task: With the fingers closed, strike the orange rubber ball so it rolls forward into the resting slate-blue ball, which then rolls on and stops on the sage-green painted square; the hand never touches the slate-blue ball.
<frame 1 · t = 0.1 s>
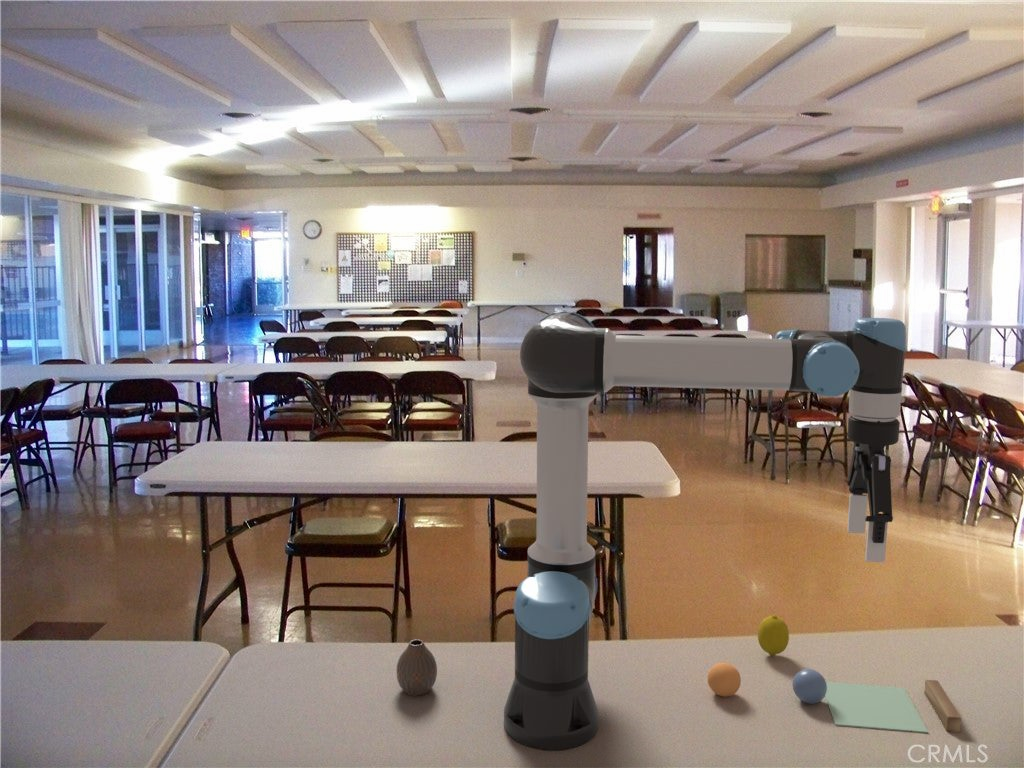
hand: (865, 546, 143), 28 cm above the table, tool pointing down, fingers open, 13 cm apart
mark: (871, 706, 148), on the table
ball a: (724, 679, 151), on the table
lemon: (772, 656, 166), on the table
vase: (417, 691, 153), on the table
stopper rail: (941, 711, 146), on the table
ball b: (809, 686, 149), on the table
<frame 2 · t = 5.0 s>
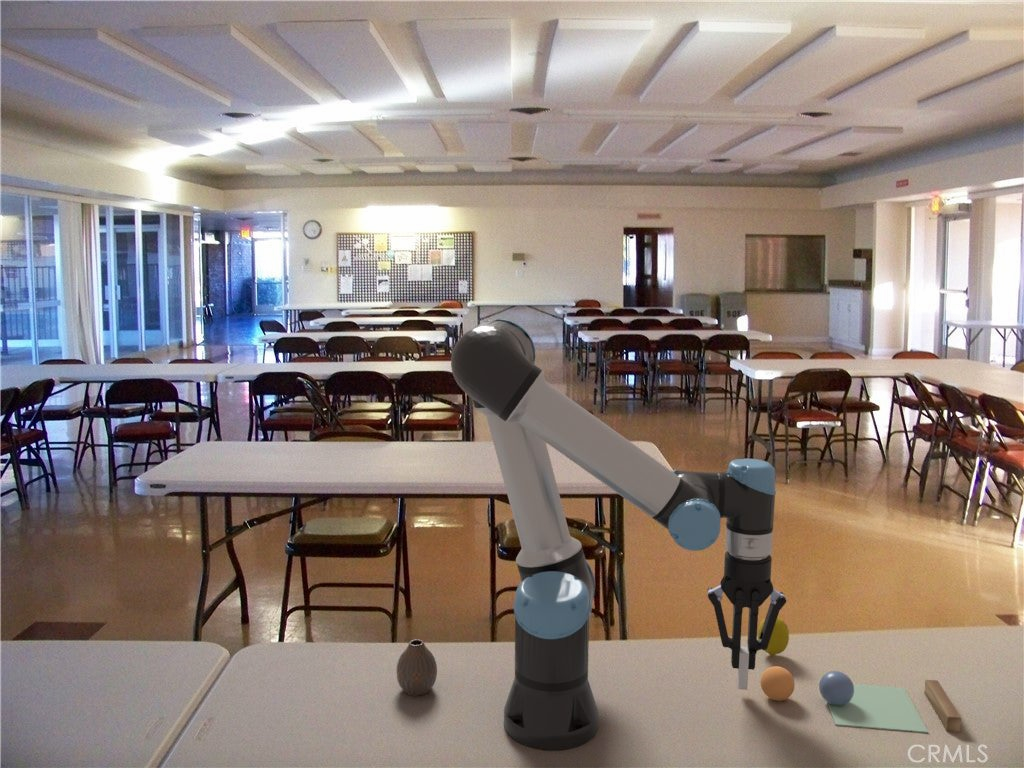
hand: (742, 685, 151), 2 cm above the table, tool pointing down, fingers closed
ball a: (777, 683, 150), on the table
ball b: (836, 688, 148), on the table
everything else where it was.
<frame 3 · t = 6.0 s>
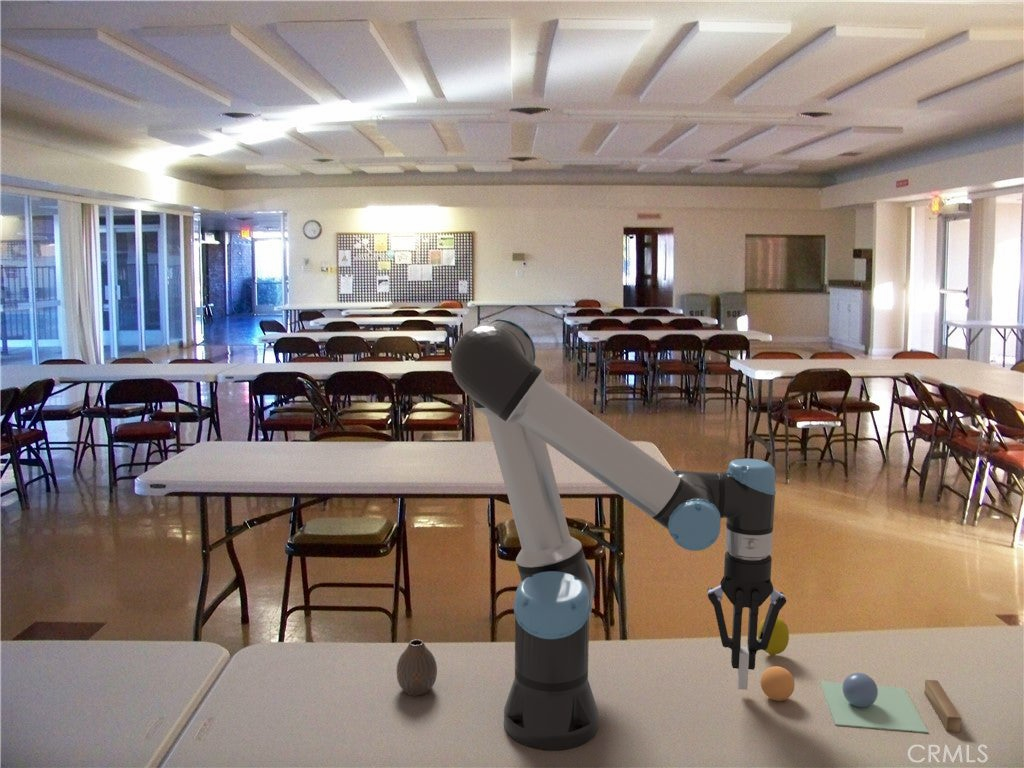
hand: (742, 685, 151), 2 cm above the table, tool pointing down, fingers closed
ball b: (860, 690, 148), on the table
everything else where it was.
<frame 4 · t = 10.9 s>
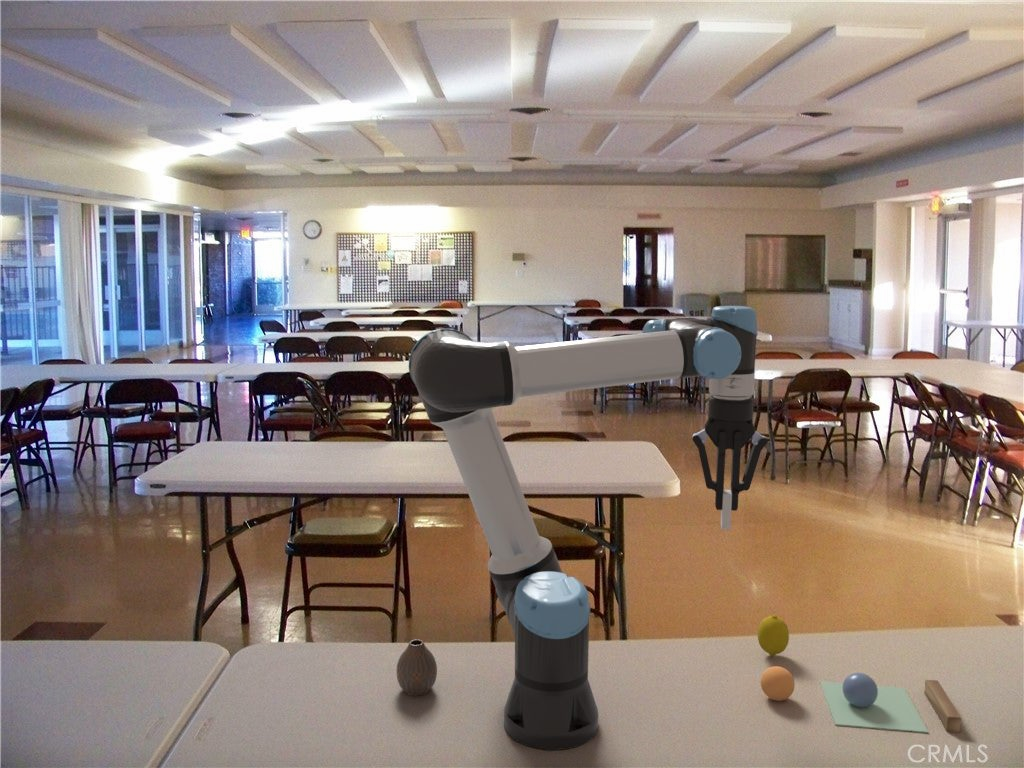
hand: (725, 527, 157), 26 cm above the table, tool pointing down, fingers closed
nothing on the table moved.
at the end: ball b 1.9 cm from the mark (horizontally); ball b never touched the robot; ball a first touched ball b at 4.5 s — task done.
